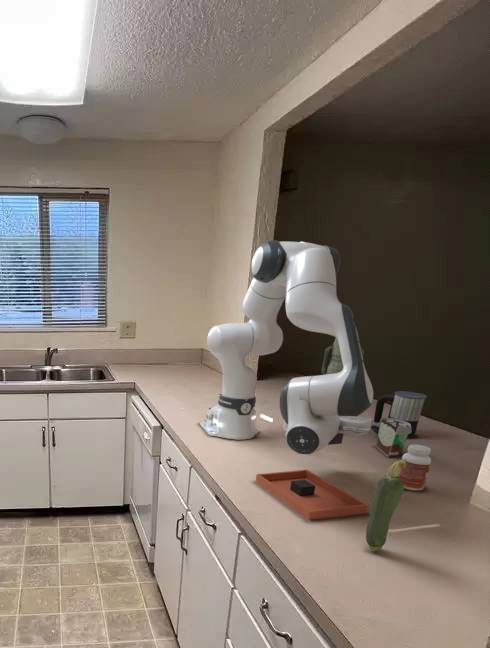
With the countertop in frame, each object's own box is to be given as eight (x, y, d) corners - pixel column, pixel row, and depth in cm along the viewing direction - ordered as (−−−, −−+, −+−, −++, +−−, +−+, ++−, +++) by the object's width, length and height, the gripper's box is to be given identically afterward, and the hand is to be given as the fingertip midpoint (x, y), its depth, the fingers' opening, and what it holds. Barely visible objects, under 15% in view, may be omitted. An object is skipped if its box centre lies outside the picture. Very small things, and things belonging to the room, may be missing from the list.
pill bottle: (427, 492, 112) (439, 452, 108) (399, 489, 113) (410, 450, 110) (418, 483, 117) (429, 444, 113) (392, 480, 119) (401, 442, 115)
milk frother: (415, 433, 157) (425, 393, 152) (418, 445, 144) (430, 402, 139) (369, 426, 164) (377, 388, 159) (368, 438, 152) (377, 397, 147)
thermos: (309, 423, 168) (326, 331, 156) (344, 426, 164) (364, 332, 152) (312, 430, 160) (330, 333, 148) (349, 433, 157) (370, 334, 145)
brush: (322, 445, 119) (330, 402, 115) (311, 440, 123) (319, 398, 119) (341, 443, 120) (350, 401, 116) (330, 438, 124) (338, 397, 120)
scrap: (289, 489, 113) (291, 480, 112) (303, 488, 113) (304, 479, 113) (299, 496, 109) (301, 487, 108) (313, 494, 110) (315, 485, 109)
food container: (412, 460, 133) (421, 429, 129) (390, 458, 134) (398, 428, 130) (394, 446, 144) (401, 417, 140) (373, 445, 145) (380, 416, 142)
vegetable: (356, 543, 90) (378, 453, 83) (376, 542, 90) (399, 452, 83) (371, 555, 86) (395, 462, 79) (392, 554, 86) (417, 461, 79)
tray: (255, 482, 118) (256, 474, 117) (305, 477, 121) (306, 469, 120) (308, 521, 98) (310, 511, 97) (366, 514, 101) (368, 505, 100)
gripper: (370, 420, 102) (379, 408, 112) (280, 406, 115) (295, 397, 125) (364, 445, 104) (373, 431, 114) (276, 429, 117) (292, 418, 127)
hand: (332, 413), depth 120 cm, fingers closed on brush, 3 cm apart
